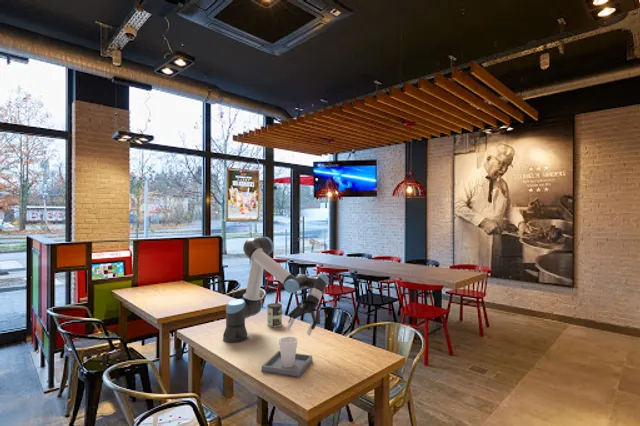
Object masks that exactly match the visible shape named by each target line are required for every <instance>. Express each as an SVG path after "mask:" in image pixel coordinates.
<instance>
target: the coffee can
mask: <svg viewBox="0 0 640 426" xmlns="http://www.w3.org/2000/svg"><path fill="white" fill-rule="evenodd" d="M282 306H283V304H282V303H279V302H278V303H276V302H275V303H269V304H268V303H267V305H266V307H267V316H266V317H267V322H266V323H267V324H266V326H267V327H270V328H278V327H281V326H282V324H283V322H282V320H283V319H282V317H283V307H282Z"/></svg>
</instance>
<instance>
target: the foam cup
mask: <svg viewBox="0 0 640 426" xmlns="http://www.w3.org/2000/svg"><path fill="white" fill-rule="evenodd" d="M278 340H279V341H278V345H279V351H280V352H281V361H282V366H283V367H292V366H294V362H295V355H296V353H297V347H298V338H297V337H296V336H283V337H280V338H279V339H278Z"/></svg>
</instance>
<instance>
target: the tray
mask: <svg viewBox="0 0 640 426" xmlns="http://www.w3.org/2000/svg"><path fill="white" fill-rule="evenodd" d="M312 362H313V355H311V354H304V353H297V352H296V355H295V362H294V366H292V367H283V366H282V361H281V352H280V350H278V351H277V352H275V353H274V354H273V355H272V356H271V357H270V358H269V359H267V361H265V362H264V363H263V364H262V365H261V373H266V374H272V375H279V376H283V377H290V378H297V379H299V378H300V377H301V376H302V375H303V374H304V372H305V371H306V370H307V368H308V367H310V365H311V364H312Z"/></svg>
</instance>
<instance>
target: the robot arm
mask: <svg viewBox="0 0 640 426" xmlns="http://www.w3.org/2000/svg"><path fill="white" fill-rule="evenodd" d="M274 249H275V246H274V242H273V241H272V239H271V238H270V237H268V236H259V237H249V238H248V239H247V240H245V241H244V243H243V252H244V254H245V256H246V257H247V258H248V259H249V260H250V261H251V263H250V265H251V266H250V270H249V276H248V281H247V285H246V286H247V287H246V291H245V293H243V295H242V298H237V299H231V300H229V301H228V302H227V303H226V308H225V329H224V332H223V335H222V339H223V340H222V341H224V342H226V343H231V344H232V343H240V342H244V341H247V339H248V338H249V336H248V330H247V327H246V319H248V318H250V317H254V316H256V315H258V314H260V312H261V310H262V308H263V301H262V299H261V296H260V290H261V285H262V280H263V277H264V270H265V271H266V272H267V273H269V274H270V275H271V276H272V277H274V278H275V279H276V280H277V281H279V282H280V283H281V284H282V285H283V287H284V290H285V291H286V292H287V293H289V294H293V293H296V292H299V291H301V290H304V289H309V291H308V293H307V296H306V298H305V301H304V303H302V302H299V303H298V305H296V306H295V308H294V309H292V311H290V313H289V314H288V317H289V320H288V324H287V326H286V329H287V331H291V329H292V327H293V325H294V322H295V319H296V318H298V317H299V316H301V315H302V314H311V318H312V321H311V323H310V325H309V327H308V329H307V332H306V333H307V335H308V336H311V335H312V332H313V331H314V330H315V328H316V326H317V325H321V311H322V308H321V307H320V306H319V304H320V300H321V299H322V296H323V294H324V291H325V289H326V287H327V285H328V283H329V280H330V279H329V277H328V275H326V274H324V273H318V274H317V275H316V276H314V275H313V276H312V275H309V274H305V273H302V274H301V273H298V274H297V275H296V276H294V275H293V274H292V273H290V271H288V270H286V268H284V267H283V266H282V265H280V264H279V263H278V262H277V261H276V260H274V259H273V258H272V257H271V256H270V254H272V253H273V251H274ZM315 311H316V312H315ZM315 315H316V316H315Z"/></svg>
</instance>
